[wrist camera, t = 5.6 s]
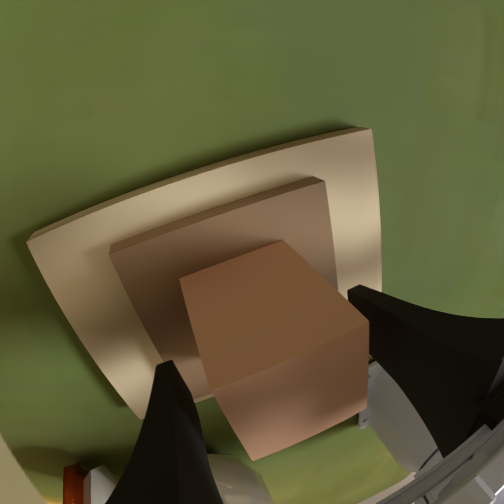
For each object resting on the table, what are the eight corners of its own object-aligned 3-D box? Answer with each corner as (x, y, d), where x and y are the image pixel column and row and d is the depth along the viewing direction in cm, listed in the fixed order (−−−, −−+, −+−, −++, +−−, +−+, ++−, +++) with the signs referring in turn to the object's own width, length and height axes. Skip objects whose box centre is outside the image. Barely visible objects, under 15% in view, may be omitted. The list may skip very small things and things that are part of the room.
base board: (370, 313, 20) (389, 331, 18) (138, 405, 18) (141, 432, 16) (356, 126, 15) (385, 131, 13) (34, 232, 12) (18, 251, 10)
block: (299, 320, 16) (366, 408, 10) (212, 355, 15) (252, 461, 10) (283, 239, 13) (368, 320, 8) (179, 278, 13) (210, 390, 7)
